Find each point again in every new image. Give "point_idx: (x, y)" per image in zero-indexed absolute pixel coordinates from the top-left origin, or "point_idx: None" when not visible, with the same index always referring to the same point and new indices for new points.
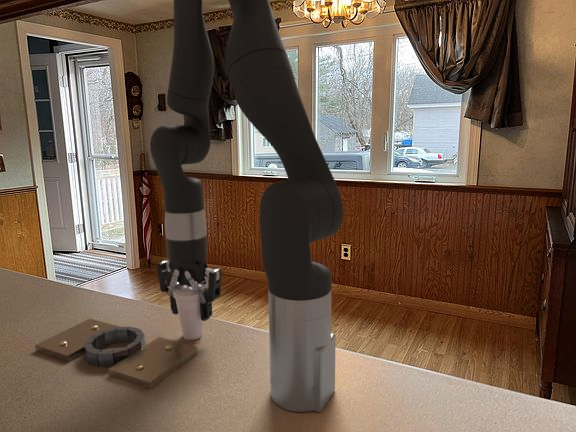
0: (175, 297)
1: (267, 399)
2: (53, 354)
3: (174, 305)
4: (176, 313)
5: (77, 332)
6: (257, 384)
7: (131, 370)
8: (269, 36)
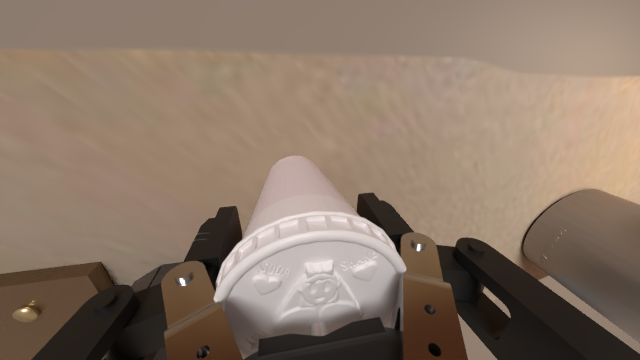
0: None
1: (517, 257)
2: None
3: None
4: (241, 234)
5: (27, 341)
6: (499, 242)
7: None
8: None
